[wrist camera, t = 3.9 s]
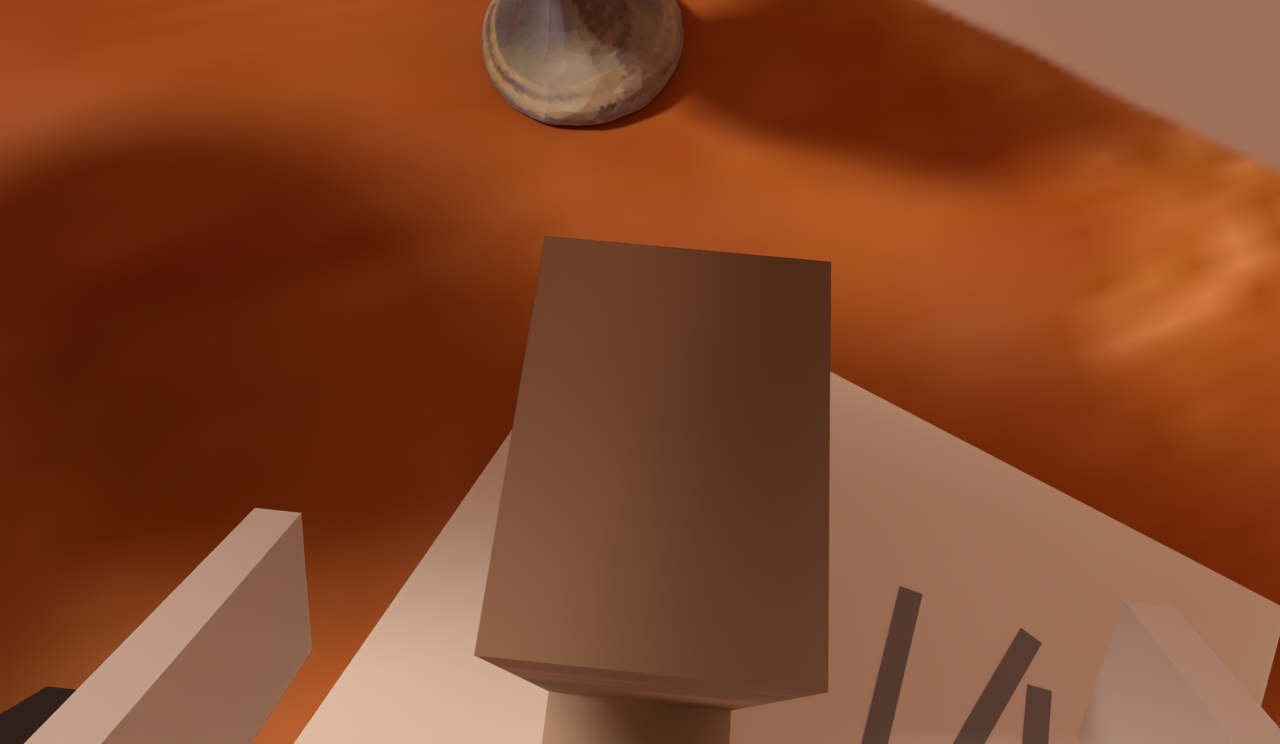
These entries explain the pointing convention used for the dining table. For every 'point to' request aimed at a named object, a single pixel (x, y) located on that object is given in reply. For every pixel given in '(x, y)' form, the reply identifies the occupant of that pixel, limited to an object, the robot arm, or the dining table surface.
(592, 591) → the block
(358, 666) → the marked board
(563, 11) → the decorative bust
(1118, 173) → the dining table surface
